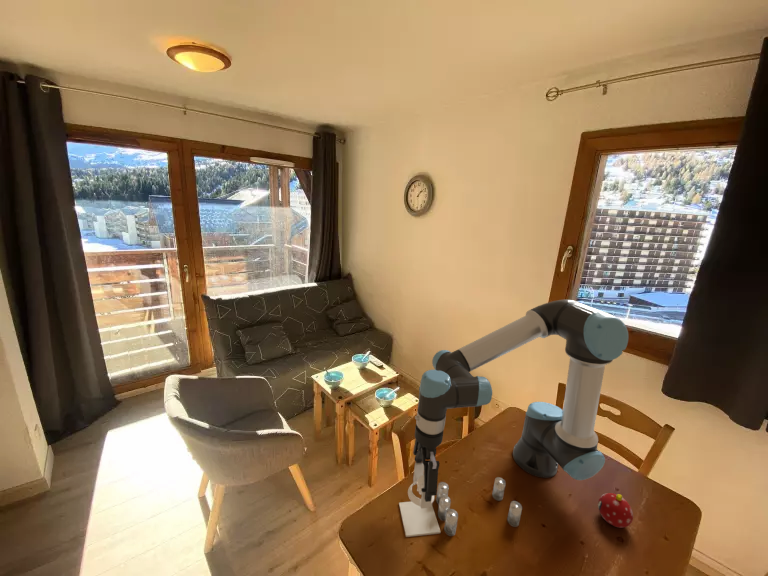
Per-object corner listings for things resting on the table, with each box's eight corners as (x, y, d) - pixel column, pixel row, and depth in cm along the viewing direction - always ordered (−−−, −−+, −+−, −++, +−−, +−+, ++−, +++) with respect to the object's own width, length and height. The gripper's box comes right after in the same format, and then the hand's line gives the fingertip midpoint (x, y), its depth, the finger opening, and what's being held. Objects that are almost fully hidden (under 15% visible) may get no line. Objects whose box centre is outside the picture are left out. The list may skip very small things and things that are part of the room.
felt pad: (430, 501, 99) (430, 499, 99) (440, 533, 90) (440, 531, 90) (398, 504, 98) (399, 502, 97) (406, 537, 88) (406, 535, 88)
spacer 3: (453, 524, 92) (455, 508, 91) (457, 535, 89) (459, 519, 88) (442, 525, 92) (445, 509, 90) (446, 536, 89) (448, 520, 87)
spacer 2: (446, 510, 97) (448, 494, 95) (449, 520, 94) (452, 504, 92) (436, 511, 96) (438, 495, 95) (439, 521, 93) (441, 505, 92)
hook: (456, 494, 86) (438, 486, 84) (425, 515, 90) (407, 508, 87) (448, 467, 93) (432, 459, 90) (421, 488, 96) (404, 480, 94)
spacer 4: (499, 491, 104) (502, 476, 103) (504, 500, 101) (507, 485, 100) (490, 492, 104) (493, 477, 102) (495, 501, 101) (498, 486, 99)
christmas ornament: (633, 539, 91) (642, 512, 89) (599, 528, 94) (607, 501, 92) (623, 513, 99) (631, 488, 97) (591, 503, 102) (599, 478, 99)
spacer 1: (444, 496, 101) (446, 481, 100) (447, 505, 98) (450, 490, 97) (434, 497, 101) (436, 482, 99) (438, 506, 98) (440, 491, 96)
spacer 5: (514, 515, 96) (518, 500, 95) (521, 526, 93) (524, 510, 92) (505, 517, 96) (508, 501, 94) (511, 527, 93) (514, 511, 91)
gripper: (407, 403, 94) (401, 465, 100) (427, 456, 75) (417, 530, 81) (431, 402, 96) (424, 464, 102) (457, 454, 76) (445, 527, 82)
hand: (421, 493), depth 91 cm, fingers closed on hook, 8 cm apart
